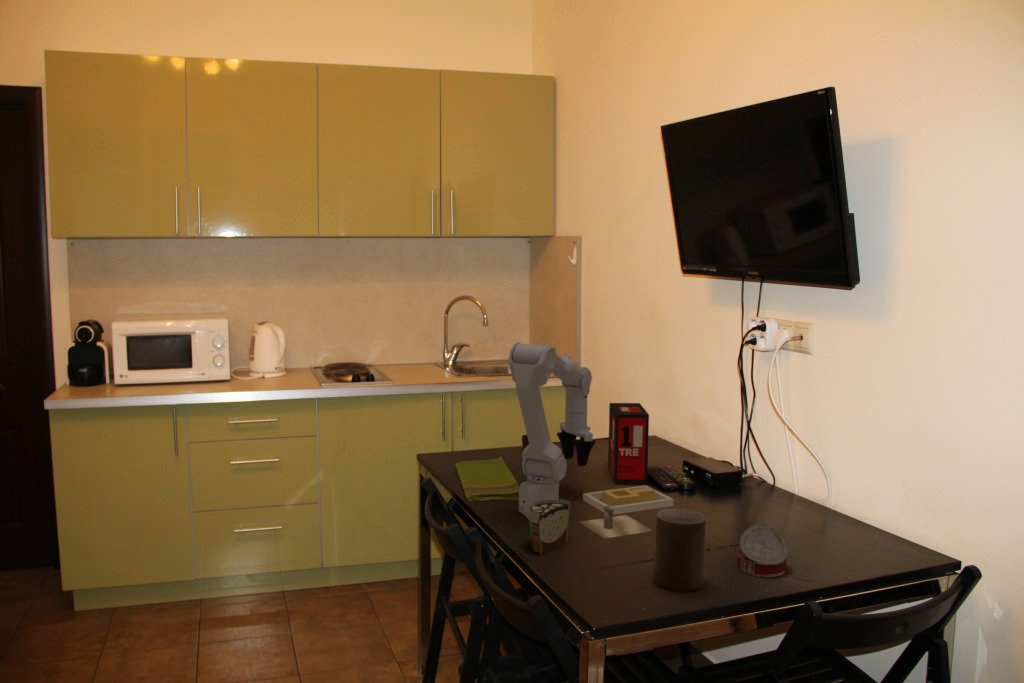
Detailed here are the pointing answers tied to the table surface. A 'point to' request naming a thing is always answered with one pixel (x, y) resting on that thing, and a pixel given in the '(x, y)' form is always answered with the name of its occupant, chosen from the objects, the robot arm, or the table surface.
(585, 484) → the table surface
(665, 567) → the pillar candle
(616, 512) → the tray
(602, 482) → the table surface
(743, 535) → the canned food
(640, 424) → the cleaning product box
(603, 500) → the tabbed collar
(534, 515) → the food container
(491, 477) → the dish towel
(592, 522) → the board
